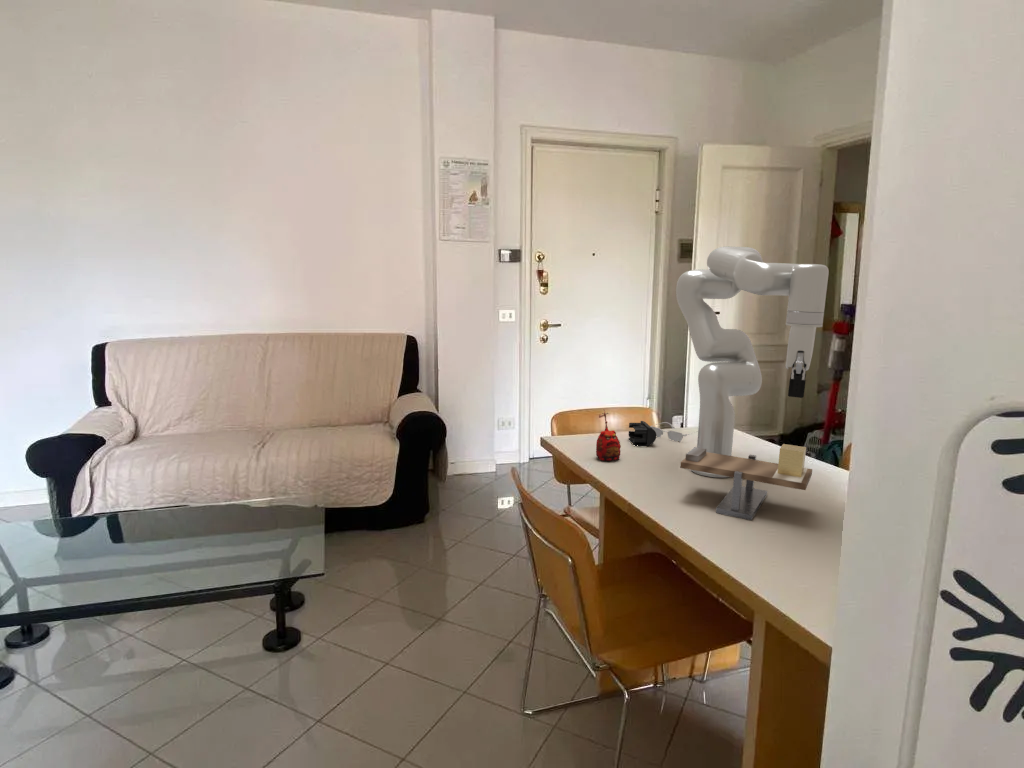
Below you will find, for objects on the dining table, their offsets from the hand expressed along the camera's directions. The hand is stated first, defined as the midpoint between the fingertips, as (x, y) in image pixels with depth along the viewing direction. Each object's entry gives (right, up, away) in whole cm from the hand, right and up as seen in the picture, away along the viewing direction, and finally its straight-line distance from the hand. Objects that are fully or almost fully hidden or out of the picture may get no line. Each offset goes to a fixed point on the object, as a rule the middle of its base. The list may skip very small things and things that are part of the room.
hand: (796, 393), depth 138 cm
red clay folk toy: (-37, -21, +44) cm, 61 cm away
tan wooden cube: (-1, -19, +2) cm, 19 cm away
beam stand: (-9, -27, +8) cm, 30 cm away
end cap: (-22, -18, +63) cm, 69 cm away
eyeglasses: (-6, -17, +76) cm, 78 cm away
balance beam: (-9, -18, +7) cm, 22 cm away
